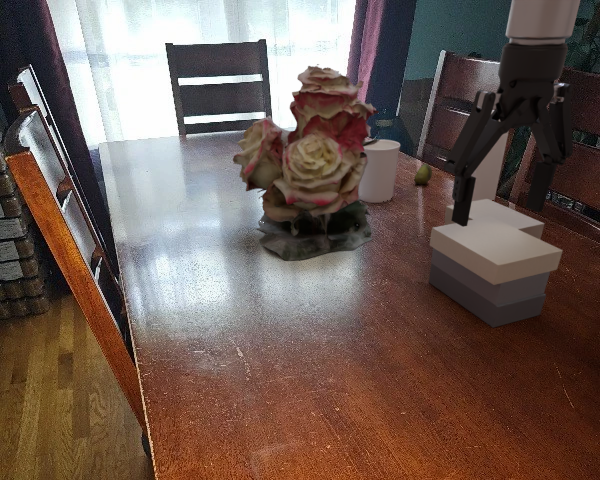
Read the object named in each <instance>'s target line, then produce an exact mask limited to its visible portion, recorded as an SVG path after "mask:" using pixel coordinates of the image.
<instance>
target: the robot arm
mask: <svg viewBox="0 0 600 480" xmlns="http://www.w3.org/2000/svg"><path fill="white" fill-rule="evenodd" d="M580 4H581V0H511V3H510V8H509V14H508V20H507V24H506V30H505V37H506V38H507V39H509V42H506V43H505V44H504V45H503V46H502V50H501V56H500V59H499V66H498V71H497V76H498V78H499V85H498V87H497V89H496V92H494V91H489V90H484V89H478V90H477V91H476V94H475V95H474V100H473V104H472V107H471V111H470V113H469V114H468V117H467V119H466V121H465V123H464V125H463V127H462V129H461V130H460V132H459V134H458V136H457V138H456V140H455V142H454V144H453V146H452V148H451V150H450V152H449V153H448V156H447V157H446V159H445V161H444V164H443V170H444V171H446V172H449V173H451V174H453V175H454V181H453V186H452V193H451V198H452V200H453V201H454V202H453V205H454V208H453V214H452V220H451V221H453V222H455V223H457V224H459V225H460V226H462V227H464V226H467V224H468V219H469V213H470V208H471V203H472V197H473V192H474V187H475V181H476V178H475V177H473V176H471V175H472V174H473V173H474V171H475V170H476V169H477V167H478V166H479V165H480V163H481V162H482V161H483V159H484V158H485V157H486V156H487V154H488V153H489V152H490V150H491V149H492V148H493V146H494V145H495V144H496V142H497V141H498V140H499V139H500V137H501V136H502V135H503V134H505V133H507V132H508V131H509V132H510V130H511V129H519V128H521V127H527V128H530V130H531V133H532V135H533V138H534V141H535V143H536V145H537V148H538V151H539V153H540V156H541V158H542V160H543V161H542V160H538V161H536V163H535V167H534V171H533V175H532V179H531V182H530V183H531V184H530V187H529V191H528V195H527V199H526V203H525V208H526V209H529V210H532V211H534V212H536V213H542V212H543V210H544V206H545V203H546V199H547V194H548V192H549V188H550V187H551V186H552V184H553V180H554V177H555V174H556V170H557V166H563V165H564V164H565V163H566V160H567V159H568V158H570V157H572V156H573V154H574V146H573V144H574V143H573V131H572V130H573V129H572V115H571V114H572V113H571V102H572V101H571V100H572V94H573V91H574V86H573V84H570V83H565V82H559V81H557V82H555V81H556V80H558V79H560V77H561V76H562V73H563V70H564V65H565V61H566V58H567V54H568V50H569V46H568V43H566V39H570V37H572V36H573V32H574V27H575V23H576V20H577V15H578V12H579V8H580ZM548 105H549V108H548V107H547V106H548ZM548 109H549V110H548ZM492 110H494V111H493V113H492ZM491 113H492V114H491ZM499 119H500V121H498V120H499ZM509 132H508V133H509ZM466 166H467V167H466Z"/></svg>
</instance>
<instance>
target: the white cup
mask: <svg viewBox="0 0 600 480" xmlns="http://www.w3.org/2000/svg"><path fill="white" fill-rule="evenodd" d="M371 140H372V139H368V140H365V142H368V141H369V142H370V141H371ZM378 140H379V139H378ZM400 149H401V143H400V142H398V141H395V140H393V139H392V140H391V139H380V140H379V141H378V142H377V143H375V144H372V145H368V146H364V150H365V151H363V152H364V153H365V154H367V158H368V163H367V166H366V168H365V172H364V174H363V176H362V179H361V182H360V185H359V190H358V192H359V197H360V196H361V195H362V196H361V197H360V199H359V200H360V201H362V202H364V203H370V204H381V203H387V202H390V201H391V200H392V199H393V198H392V197H394V193H395V192H394V191H395V185H396V179H397V170H398V163H399V156H400ZM391 198H392V199H391ZM387 200H388V201H387ZM368 201H369V202H368ZM383 201H384V202H383Z"/></svg>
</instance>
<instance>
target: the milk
mask: <svg viewBox="0 0 600 480" xmlns="http://www.w3.org/2000/svg"><path fill="white" fill-rule="evenodd" d="M493 111H494V110H492V113H493ZM492 113H491V114H492ZM498 121H500V119H499V120H498ZM509 132H510V130H509V131H508V132H507V133H505V134H503V135H502V136H501V137H500V139H499V140H498V141H497V142H496V144H495V145H494V146H493V148H492V149H491V150H490V152H489V153H488V154H487V156H486V157H485V158H484V159H483V161H482V162H481V163H480V165H479V166H478V167H477V169H476V170H475V171H474V173H473V174H472V175H471V176H473V177H475V178H476V181H475V187H474V192H473V197H472V201H477V200H483V199H489V200H494V201H495V199H496V194H497V189H498V184H499V179H500V176H501V171H502V166H503V161H504V156H505V152H506V146H507V142H508V136H509ZM466 167H467V166H466Z"/></svg>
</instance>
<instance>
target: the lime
mask: <svg viewBox="0 0 600 480" xmlns="http://www.w3.org/2000/svg"><path fill="white" fill-rule="evenodd" d="M432 176H433V169H432V167H431V165H429V164H428V163H423V164H422V165H421V166H420V167H419V168H418V170H417V172H416V174H415V176H414V180H413V182H414V183H415V184H417V185H425V184H427V183H428V182H429V181H431V179H432Z"/></svg>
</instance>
